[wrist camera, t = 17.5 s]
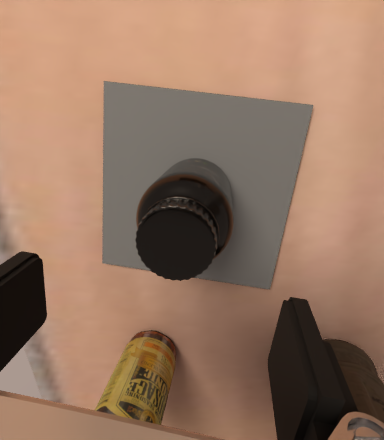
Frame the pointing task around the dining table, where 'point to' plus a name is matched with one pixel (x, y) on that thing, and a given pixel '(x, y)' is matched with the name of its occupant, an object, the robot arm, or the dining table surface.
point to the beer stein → (360, 378)
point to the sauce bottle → (141, 379)
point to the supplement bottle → (185, 219)
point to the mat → (209, 150)
